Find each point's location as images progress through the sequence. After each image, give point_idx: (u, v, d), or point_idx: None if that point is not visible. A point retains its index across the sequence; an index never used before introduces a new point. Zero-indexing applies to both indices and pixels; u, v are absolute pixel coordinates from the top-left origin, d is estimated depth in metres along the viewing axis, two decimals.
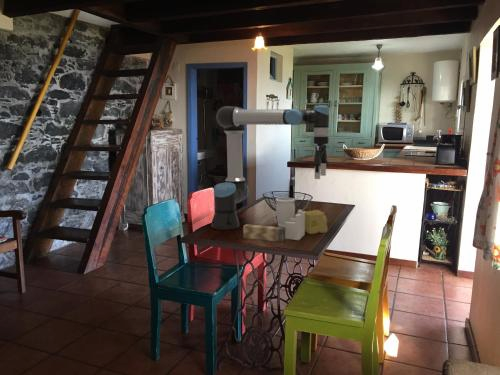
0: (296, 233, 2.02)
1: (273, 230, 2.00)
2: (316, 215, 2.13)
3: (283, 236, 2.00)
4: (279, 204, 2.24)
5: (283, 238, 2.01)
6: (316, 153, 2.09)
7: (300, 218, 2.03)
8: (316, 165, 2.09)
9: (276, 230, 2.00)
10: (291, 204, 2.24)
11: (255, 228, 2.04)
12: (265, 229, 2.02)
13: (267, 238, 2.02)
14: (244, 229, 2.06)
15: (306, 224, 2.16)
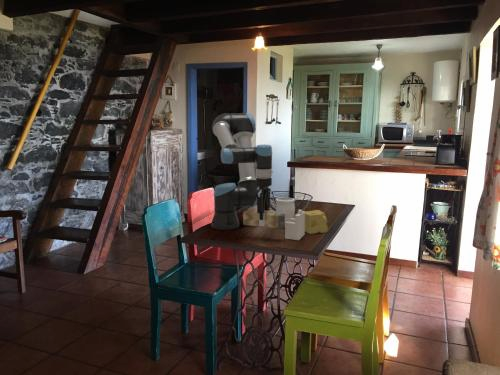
0: (296, 233, 2.02)
1: (273, 217, 2.00)
2: (316, 215, 2.13)
3: (282, 222, 1.99)
4: (279, 204, 2.24)
5: (283, 225, 2.00)
6: (258, 200, 1.97)
7: (300, 218, 2.03)
8: (260, 212, 1.99)
9: (276, 217, 1.99)
10: (291, 204, 2.24)
11: (255, 215, 2.03)
12: (265, 216, 2.01)
13: (267, 224, 2.01)
14: (244, 216, 2.05)
15: (306, 224, 2.16)
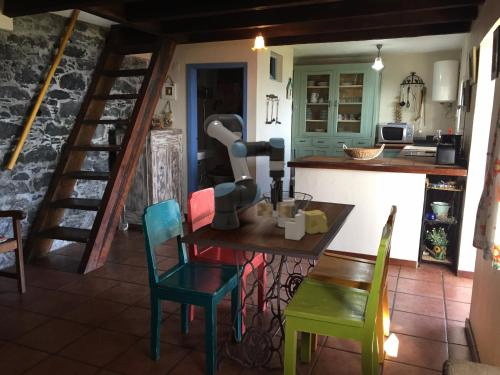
0: (296, 233, 2.02)
1: (286, 207, 2.05)
2: (316, 215, 2.13)
3: (295, 213, 2.05)
4: None
5: None
6: (272, 191, 2.03)
7: (300, 218, 2.03)
8: (273, 203, 2.05)
9: (289, 207, 2.05)
10: (291, 204, 2.24)
11: (268, 206, 2.09)
12: (278, 206, 2.07)
13: (280, 215, 2.07)
14: (258, 207, 2.11)
15: (306, 224, 2.16)
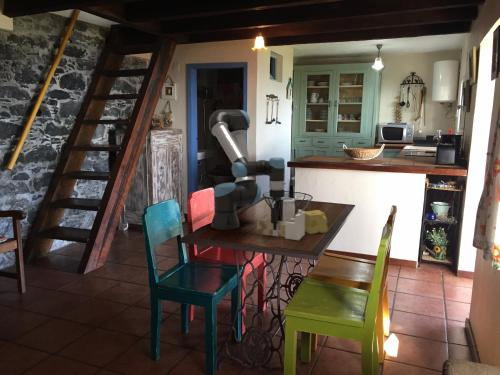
0: (296, 233, 2.02)
1: None
2: (316, 215, 2.13)
3: None
4: None
5: None
6: (272, 211, 2.04)
7: (300, 218, 2.03)
8: (273, 223, 2.06)
9: None
10: (291, 204, 2.24)
11: (268, 224, 2.10)
12: (278, 225, 2.08)
13: (280, 234, 2.09)
14: (258, 225, 2.13)
15: (306, 224, 2.16)
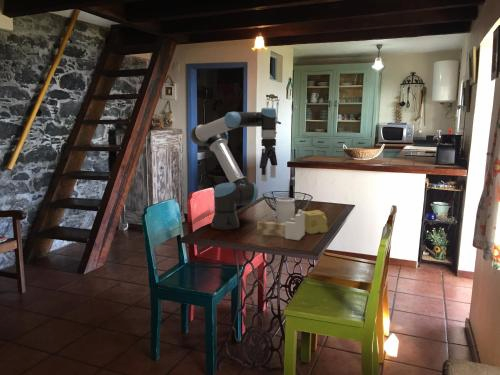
0: (296, 233, 2.02)
1: None
2: (316, 215, 2.13)
3: None
4: (279, 204, 2.24)
5: None
6: (262, 155, 2.10)
7: (300, 218, 2.03)
8: (262, 167, 2.09)
9: None
10: (291, 204, 2.24)
11: (268, 224, 2.10)
12: (278, 225, 2.08)
13: (280, 234, 2.09)
14: (258, 225, 2.13)
15: (306, 224, 2.16)
